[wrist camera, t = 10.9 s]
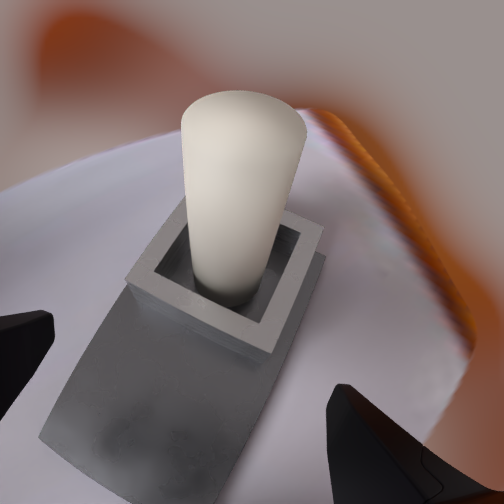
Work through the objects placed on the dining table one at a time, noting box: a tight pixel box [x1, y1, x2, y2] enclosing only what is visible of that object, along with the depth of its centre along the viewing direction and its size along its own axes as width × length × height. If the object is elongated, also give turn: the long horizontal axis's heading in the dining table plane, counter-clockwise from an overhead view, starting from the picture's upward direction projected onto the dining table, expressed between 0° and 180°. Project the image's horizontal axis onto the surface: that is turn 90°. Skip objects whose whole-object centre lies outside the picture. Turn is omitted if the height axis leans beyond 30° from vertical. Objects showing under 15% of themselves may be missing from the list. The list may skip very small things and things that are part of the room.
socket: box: [38, 196, 326, 504], centre depth 17 cm, size 20×11×4 cm, turn 156°
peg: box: [181, 90, 307, 307], centre depth 16 cm, size 4×4×12 cm
